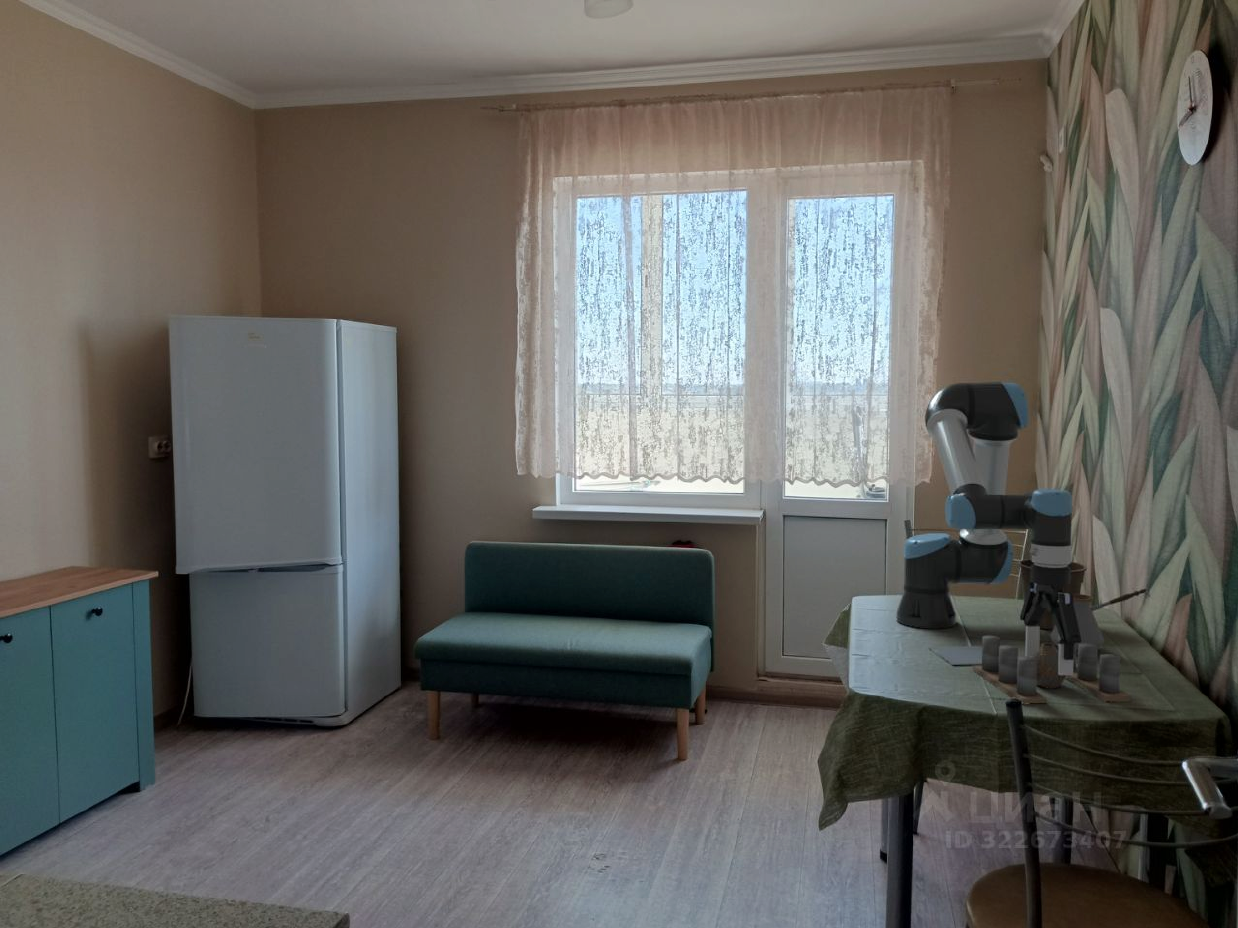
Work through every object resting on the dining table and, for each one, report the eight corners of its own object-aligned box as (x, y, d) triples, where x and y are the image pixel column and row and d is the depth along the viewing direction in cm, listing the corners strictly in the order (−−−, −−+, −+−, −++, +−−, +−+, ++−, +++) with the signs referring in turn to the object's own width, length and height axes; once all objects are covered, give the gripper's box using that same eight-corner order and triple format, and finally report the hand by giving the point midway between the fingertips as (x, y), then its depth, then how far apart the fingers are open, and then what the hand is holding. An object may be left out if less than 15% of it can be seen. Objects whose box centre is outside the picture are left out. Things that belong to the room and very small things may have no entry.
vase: (1070, 684, 195) (1071, 643, 194) (1059, 693, 190) (1060, 650, 189) (1036, 678, 199) (1037, 638, 199) (1024, 685, 194) (1025, 644, 194)
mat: (928, 648, 223) (928, 646, 223) (985, 647, 223) (985, 645, 223) (952, 665, 209) (952, 664, 209) (1013, 664, 209) (1013, 662, 209)
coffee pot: (1058, 655, 216) (1060, 592, 214) (1043, 642, 227) (1045, 582, 226) (1157, 658, 212) (1159, 594, 211) (1137, 645, 224) (1139, 583, 222)
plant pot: (1097, 632, 235) (1098, 569, 234) (1032, 633, 236) (1034, 570, 234) (1067, 617, 251) (1069, 558, 250) (1007, 617, 252) (1008, 558, 250)
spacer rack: (973, 670, 205) (973, 634, 204) (1070, 668, 206) (1071, 631, 205) (1021, 704, 183) (1022, 663, 182) (1129, 701, 184) (1131, 660, 183)
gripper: (1004, 554, 205) (1003, 649, 206) (1064, 575, 180) (1062, 683, 181) (1037, 554, 205) (1036, 648, 206) (1102, 575, 180) (1099, 682, 182)
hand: (1048, 665), depth 194 cm, fingers open, 13 cm apart
